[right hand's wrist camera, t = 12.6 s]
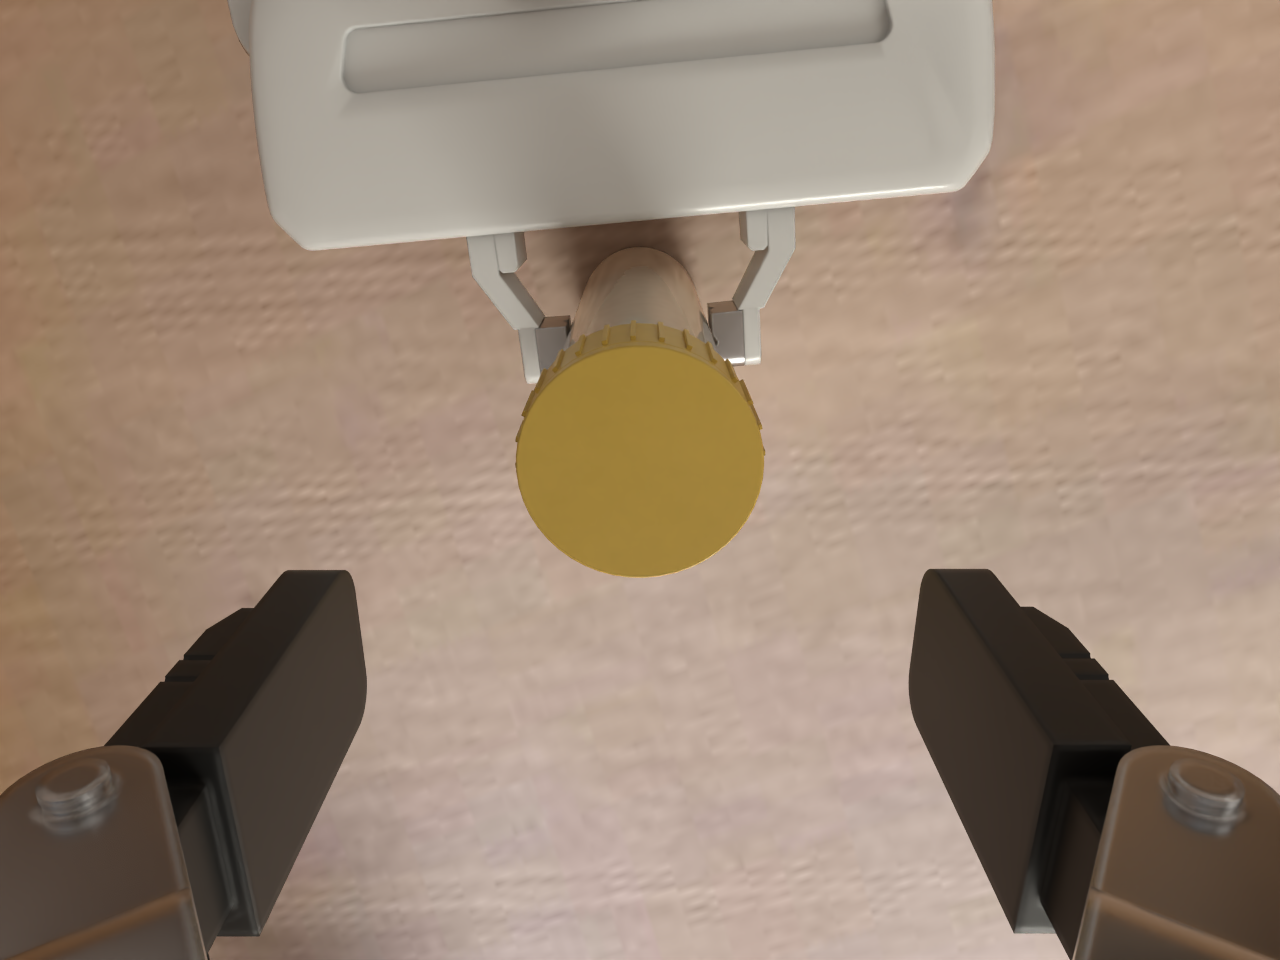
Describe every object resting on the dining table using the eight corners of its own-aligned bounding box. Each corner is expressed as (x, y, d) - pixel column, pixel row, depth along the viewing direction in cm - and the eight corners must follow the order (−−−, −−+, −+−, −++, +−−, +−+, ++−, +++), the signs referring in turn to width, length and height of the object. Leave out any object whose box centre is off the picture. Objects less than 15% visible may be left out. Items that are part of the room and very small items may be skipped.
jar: (704, 351, 34) (761, 541, 18) (594, 369, 34) (554, 572, 18) (688, 237, 33) (734, 335, 17) (572, 257, 33) (509, 372, 17)
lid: (766, 519, 20) (780, 562, 18) (550, 552, 20) (541, 597, 18) (739, 301, 18) (751, 321, 16) (502, 340, 18) (486, 365, 16)
